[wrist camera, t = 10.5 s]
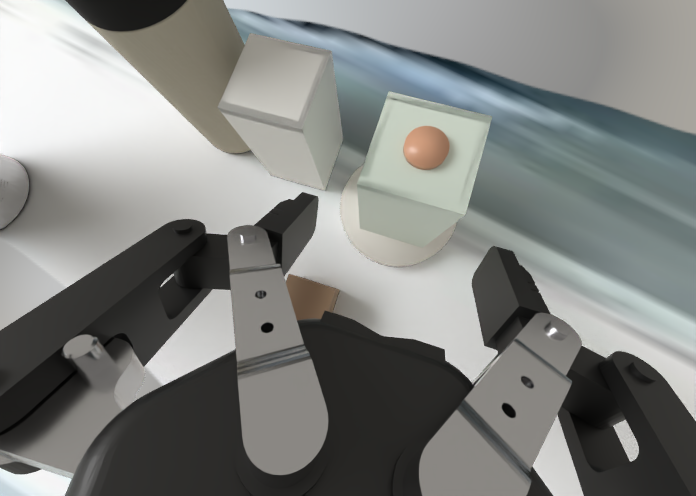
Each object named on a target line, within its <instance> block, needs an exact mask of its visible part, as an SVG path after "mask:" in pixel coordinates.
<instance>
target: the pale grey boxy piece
mask: <svg viewBox="0 0 696 496" xmlns="http://www.w3.org/2000/svg"><path fill="white" fill-rule="evenodd" d="M491 119H492V116H488V115H484V114H480V113H476V112H472V111H467V110H463V109H459V108H455V107H451V106H447V105H443V104H439V103H435V102H430V101H426V100H422V99H418V98H414V97H410V96H406V95H402V94H398V93H393V92H389V93H388V95H387V98H386V101H385V104H384V107H383V110H382V113H381V116H380V119H379V122H378V124H377V127H376V130H375V133H374V136H373V139H372V142H371V145H370V148H369V151H368V153H367V156H366V159H365V162H364V165H363V168H362V171H361V174H360V177H359V179H358V182H357V191H358V207H359V224H360V229H363V230H366V231H370V232H373V233H376V234H379V235H383V236H386V237H389V238H392V239H395V240H399V241H402V242H405V243H408V244H412V245H415V246H418V247H421V248H423V247H424V246H426V245H427V244H428V243H430V242H431V241H432V240H434V239H435V238H436V237H437V236H439V235H440V234H441V233H443V232H444V231H445V230H447V229H448V228H449V227H451V226H452V225H453V224H454V223H456V222H457V221H458V220H460V219H461V218H462V217H464V216H465V215H466V211H467V208H468V204H469V200H470V197H471V193H472V189H473V186H474V182H475V178H476V175H477V171H478V167H479V164H480V160H481V156H482V153H483V149H484V145H485V141H486V138H487V134H488V130H489V127H490V123H491Z"/></svg>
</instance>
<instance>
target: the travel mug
mask: <svg viewBox="0 0 696 496" xmlns="http://www.w3.org/2000/svg"><path fill="white" fill-rule="evenodd" d="M66 1H67V2H68V3H69V4H70V5H71V6H72V7H73V8H74V9H75V10H76V11H77V12H78V13H79V14H80V15H81V16H82V17H83V18H84V19H85V20H86V21H87V22H88V23H89V24H90V25H91V26H92V27H93V28H94V29H95V30H96V31H97V32H98V33H99V34H100V35H101V36H102V37H103V38H104V39H105V40H106V41H107V42H108V43H109V44H110V45H111V46H112V47H114V48H115V49H116V50H117V51H118V52H119V53H120V54H121V55H122V56H123V57H124V58H125V59H126V60H127V61H128V62H129V63H130V64H131V65H132V66H133V67H134V68H135V69H136V70H137V71H138V72H139V73H140V74H141V75H142V76H143V77H144V78H145V79H146V80H147V81H148V82H149V83H150V84H151V85H152V86H153V87H154V88H155V89H156V90H157V91H158V92H159V93H160V94H161V95H162V96H164V97H165V98H166V99H167V100H168V101H169V102H170V103H171V104H172V105H173V106H174V107H175V108H176V109H177V110H178V111H179V112H180V113H181V114H182V115H183V116H184V117H185V118H186V119H187V120H188V121H189V122H190V123H191V124H192V125H193V126H194V127H195V128H196V129H197V130H198V131H199V132H200V133H201V134H202V135H203V136H204V137H205V138H206V139H207V140H208V141H209V142H210V143H211V144H212V145H214V146H215V147H216V148H218V149H220V150H222V151H224V152H228V153H243V152H247V151H250V150H251V149H250V148H249V147H248V146H247V144H246V143H245V142H244V141H243V139H242V138H241V137H240V135H239V134H238V133H237V132H236V130H235V129H234V128H233V127H232V125H231V124H230V123H229V122H228V120H227V119H226V118H225V116H224V115H223V114H222V113H221V111H220V110H219V109H218V108H217V107H218V105H219V103H220V100H221V98H222V96H223V94H224V91H225V89H226V87H227V85H228V82H229V80H230V78H231V75H232V73H233V71H234V69H235V66H236V64H237V62H238V60H239V57H240V55H241V53H242V51H243V48H244V46H245V45H244V43H243V41H242V39H241V37H240V35H239V32H238V30H237V28H236V26H235V24H234V22H233V20H232V18H231V16H230V14H229V12H228V10H227V8H226V5H225V3H224V1H223V0H66Z"/></svg>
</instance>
